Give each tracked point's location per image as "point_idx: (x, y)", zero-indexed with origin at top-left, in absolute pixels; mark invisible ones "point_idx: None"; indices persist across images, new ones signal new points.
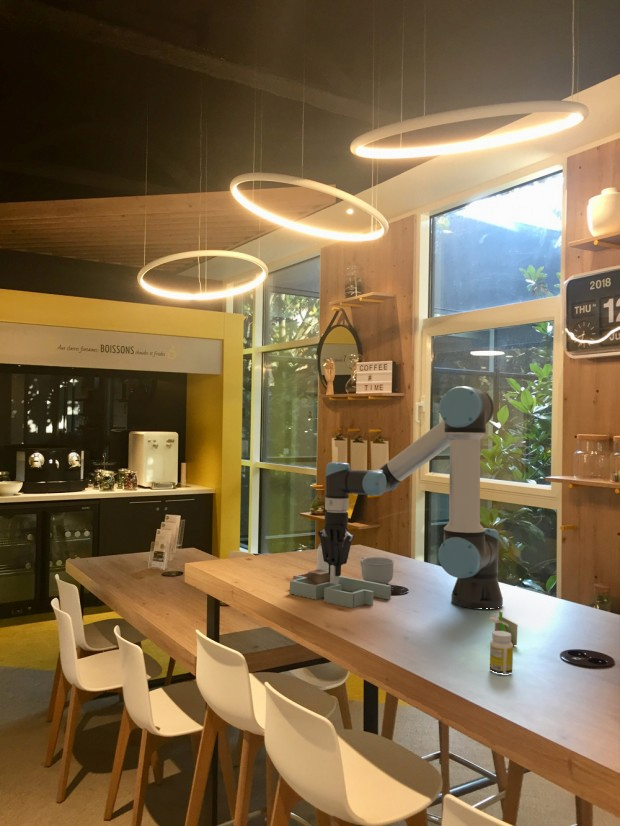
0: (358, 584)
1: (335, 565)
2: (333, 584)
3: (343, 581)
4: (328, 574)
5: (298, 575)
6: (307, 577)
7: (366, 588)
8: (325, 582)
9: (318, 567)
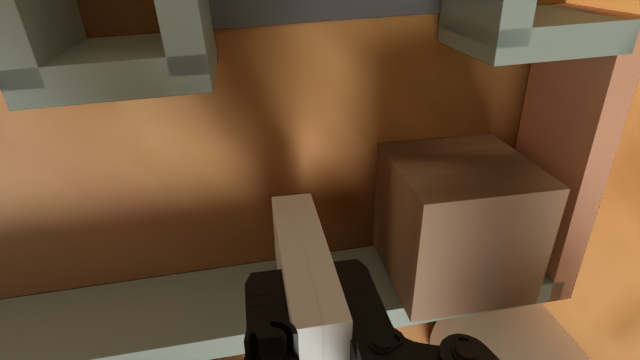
0: (108, 329)
1: (252, 330)
2: (95, 62)
3: None
4: (405, 293)
5: (612, 71)
6: None
7: (31, 327)
8: (388, 226)
9: (568, 352)
